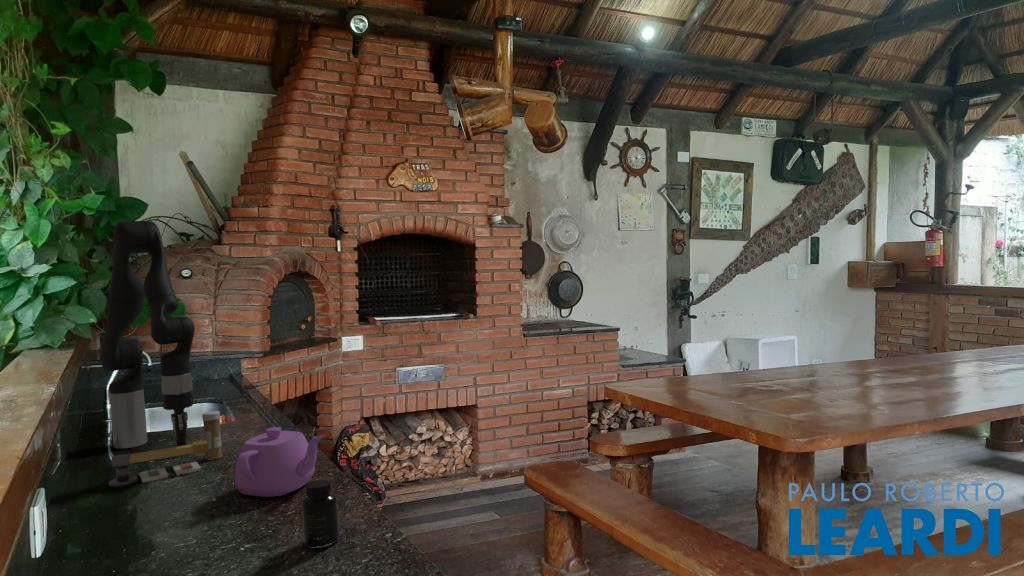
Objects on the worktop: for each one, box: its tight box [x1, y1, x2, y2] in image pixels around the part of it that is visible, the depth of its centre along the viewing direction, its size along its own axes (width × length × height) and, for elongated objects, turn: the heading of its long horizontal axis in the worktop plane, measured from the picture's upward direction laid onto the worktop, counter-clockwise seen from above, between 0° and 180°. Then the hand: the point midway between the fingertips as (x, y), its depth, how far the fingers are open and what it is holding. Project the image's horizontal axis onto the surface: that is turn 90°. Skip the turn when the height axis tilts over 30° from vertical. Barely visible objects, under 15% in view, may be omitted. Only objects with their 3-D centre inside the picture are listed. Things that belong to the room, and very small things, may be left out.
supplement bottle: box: [301, 479, 340, 547], centre depth 129 cm, size 7×7×12 cm
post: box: [108, 465, 138, 488], centre depth 169 cm, size 6×6×5 cm
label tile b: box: [172, 460, 202, 476], centre depth 177 cm, size 7×6×1 cm
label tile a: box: [139, 467, 169, 484], centre depth 173 cm, size 7×6×1 cm
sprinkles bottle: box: [201, 410, 223, 461], centre depth 187 cm, size 5×5×13 cm
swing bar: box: [111, 440, 208, 468], centre depth 173 cm, size 4×22×2 cm, turn 119°
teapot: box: [234, 426, 326, 498], centre depth 157 cm, size 23×21×15 cm
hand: (181, 451), depth 178 cm, fingers closed
